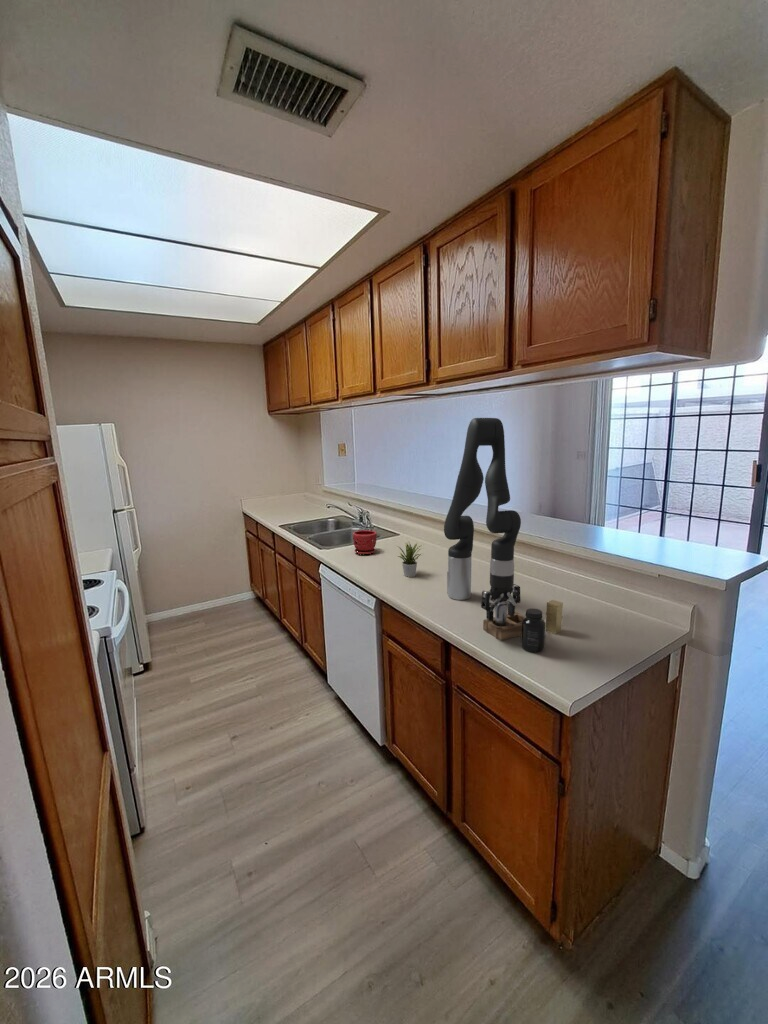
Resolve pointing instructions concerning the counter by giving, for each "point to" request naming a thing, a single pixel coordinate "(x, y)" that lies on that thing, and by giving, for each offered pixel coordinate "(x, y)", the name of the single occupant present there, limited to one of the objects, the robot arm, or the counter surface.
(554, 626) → the square bit
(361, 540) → the plant pot
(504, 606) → the cylinder
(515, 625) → the bore block
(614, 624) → the counter surface
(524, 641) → the supplement bottle
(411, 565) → the house plant
